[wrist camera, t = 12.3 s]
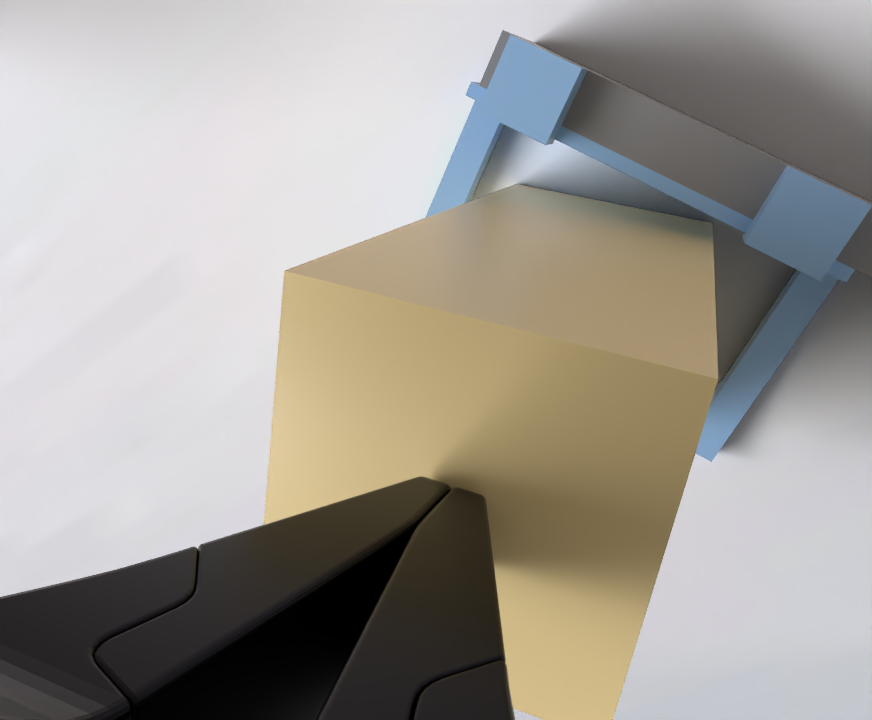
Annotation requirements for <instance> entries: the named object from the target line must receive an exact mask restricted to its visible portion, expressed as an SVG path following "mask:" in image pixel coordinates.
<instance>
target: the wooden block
mask: <svg viewBox="0 0 872 720" xmlns="http://www.w3.org/2000/svg"><path fill="white" fill-rule="evenodd" d="M717 382H718V357H717V329H716V301H715V273H714V245H713V223H710V222H705V221H700V220H695V219H690V218H685V217H680V216H675V215H670V214H665V213H659V212H654V211H649V210H644V209H639V208H634V207H629V206H624V205H619V204H614V203H609V202H604V201H599V200H594V199H589V198H584V197H579V196H574V195H569V194H564V193H559V192H554V191H549V190H544V189H539V188H534V187H529V186H524V185H519V184H515V185H512V186H509V187H507V188H504V189H501V190H499V191H496V192H493V193H491V194H488V195H485V196H483V197H480V198H477V199H475V200H472V201H469V202H467V203H464V204H461V205H459V206H456V207H453V208H451V209H448V210H445V211H443V212H440V213H437V214H435V215H432V216H429V217H427V218H424V219H421V220H419V221H416V222H413V223H411V224H408V225H405V226H403V227H400V228H397V229H395V230H392V231H389V232H387V233H384V234H381V235H379V236H376V237H373V238H371V239H368V240H365V241H363V242H360V243H357V244H355V245H352V246H349V247H347V248H344V249H341V250H339V251H336V252H333V253H331V254H328V255H325V256H323V257H320V258H317V259H315V260H312V261H309V262H307V263H304V264H301V265H299V266H296V267H293V268H291V269H288V270H285V271H284V282H283V294H282V307H281V319H280V331H279V344H278V356H277V368H276V381H275V393H274V405H273V417H272V430H271V442H270V454H269V467H268V479H267V491H266V504H265V516H264V525H265V524H268V523H271V522H275V521H278V520H281V519H284V518H288V517H291V516H294V515H297V514H300V513H304V512H307V511H310V510H313V509H316V508H320V507H323V506H326V505H329V504H332V503H336V502H339V501H342V500H345V499H348V498H352V497H355V496H358V495H361V494H364V493H368V492H371V491H374V490H377V489H380V488H384V487H387V486H390V485H393V484H396V483H400V482H403V481H406V480H409V479H412V478H416V477H420V476H422V477H427V478H430V479H433V480H436V481H439V482H443V483H446V484H447V485H449V486H450V487H451V489H453V488H455V487H458V488H462V489H465V490H468V491H471V492H474V493H478V494H481V495H483V496H484V497H485V499H486V505H487V513H488V521H489V529H490V537H491V545H492V553H493V561H494V569H495V577H496V585H497V594H498V602H499V610H500V618H501V626H502V634H503V642H504V650H505V658H506V662H505V663H506V665H507V671H508V679H509V687H510V694H511V700H512V705H513V708H514V709H517V710H520V711H522V712H525V713H528V714H530V715H533V716H535V717H538V718H541V719H543V720H613V717H614V714H615V711H616V707H617V704H618V701H619V698H620V695H621V691H622V688H623V685H624V682H625V678H626V675H627V672H628V669H629V665H630V662H631V659H632V656H633V653H634V649H635V646H636V643H637V640H638V636H639V633H640V630H641V627H642V624H643V620H644V617H645V614H646V611H647V607H648V604H649V601H650V598H651V595H652V591H653V588H654V585H655V582H656V578H657V575H658V572H659V569H660V565H661V562H662V559H663V556H664V553H665V549H666V546H667V543H668V540H669V536H670V533H671V530H672V527H673V524H674V520H675V517H676V514H677V511H678V507H679V504H680V501H681V498H682V495H683V491H684V488H685V485H686V482H687V478H688V475H689V472H690V469H691V466H692V462H693V459H694V456H695V453H696V449H697V446H698V443H699V440H700V436H701V433H702V430H703V427H704V424H705V420H706V417H707V414H708V411H709V407H710V404H711V401H712V398H713V395H714V391H715V388H716V385H717Z"/></svg>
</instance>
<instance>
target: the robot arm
mask: <svg viewBox="0 0 872 720" xmlns="http://www.w3.org/2000/svg"><path fill="white" fill-rule="evenodd" d="M505 662H506V658H505V650H504V642H503V634H502V626H501V618H500V610H499V602H498V594H497V585H496V577H495V569H494V561H493V553H492V545H491V537H490V529H489V521H488V513H487V505H486V499H485V497H484V496H483V495H481V494H478V493H474V492H471V491H468V490H465V489H462V488H458V487H455V488H453V489H451V487H450V486H449V485H447V484H446V483H443V482H439V481H436V480H433V479H430V478H427V477H422V476H420V477H416V478H412V479H409V480H406V481H403V482H400V483H396V484H393V485H390V486H387V487H384V488H380V489H377V490H374V491H371V492H368V493H364V494H361V495H358V496H355V497H352V498H348V499H345V500H342V501H339V502H336V503H332V504H329V505H326V506H323V507H320V508H316V509H313V510H310V511H307V512H304V513H300V514H297V515H294V516H291V517H288V518H284V519H281V520H278V521H275V522H271V523H268V524H265V525H262V526H259V527H255V528H252V529H249V530H246V531H243V532H239V533H236V534H233V535H230V536H226V537H223V538H220V539H217V540H214V541H210V542H207V543H204V544H201V545H200V546H199V547H198V549H197V548H196V547H191V548H188V549H184V550H181V551H178V552H175V553H172V554H168V555H165V556H162V557H158V558H155V559H151V560H148V561H144V562H141V563H138V564H134V565H131V566H127V567H124V568H120V569H117V570H113V571H109V572H105V573H101V574H97V575H92V576H88V577H84V578H80V579H76V580H72V581H68V582H64V583H59V584H55V585H51V586H46V587H42V588H38V589H33V590H29V591H25V592H20V593H16V594H12V595H7V596H3V597H0V720H515V717H514V711H513V705H512V700H511V694H510V687H509V679H508V671H507V665H506V663H505Z"/></svg>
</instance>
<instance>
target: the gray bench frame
mask: <svg viewBox="0 0 872 720" xmlns="http://www.w3.org/2000/svg"><path fill="white" fill-rule="evenodd" d="M466 96H468V97H470V98H472V99H474V100H475V102H474V105H473V107H472V109H471V112H470V114H469V116H468V119H467V121H466V123H465V126H464V128H463V130H462V133H461V135H460V138H459V140H458V142H457V145H456V147H455V149H454V152H453V154H452V156H451V159H450V161H449V163H448V166H447V168H446V171H445V173H444V175H443V178H442V180H441V182H440V185H439V187H438V189H437V192H436V194H435V197H434V199H433V201H432V204H431V206H430V208H429V211H428V213H427V215H426V218H427V217H429V216H432V215H435V214H437V213H440V212H443V211H445V210H448V209H451V208H453V207H456V206H459V205H461V204H464V203H467V202H469V201H471V198H472V196H473V194H474V192H475V189H476V187H477V185H478V183H479V181H480V178H481V176H482V174H483V172H484V169H485V167H486V165H487V163H488V160H489V158H490V156H491V154H492V151H493V149H494V147H495V145H496V142H497V140H498V138H499V136H500V133H501V131H502V129H503V127H504V125H506V126H508V127H510V128H512V129H514V130H516V131H518V132H520V133H522V134H524V135H526V136H528V137H530V138H532V139H534V140H536V141H538V142H540V143H542V144H544V145H548V144H553V142H554V140H557V141H560V142H562V143H564V144H566V145H568V146H570V147H572V148H574V149H576V150H578V151H580V152H582V153H584V154H586V155H588V156H590V157H592V158H594V159H596V160H598V161H600V162H602V163H604V164H606V165H608V166H610V167H612V168H614V169H616V170H618V171H620V172H622V173H624V174H626V175H628V176H630V177H633V178H635V179H637V180H639V181H641V182H643V183H645V184H647V185H649V186H651V187H653V188H655V189H657V190H659V191H661V192H663V193H665V194H667V195H669V196H671V197H673V198H675V199H677V200H679V201H681V202H683V203H685V204H687V205H689V206H691V207H693V208H695V209H697V210H699V211H701V212H703V213H705V214H708V215H710V216H712V217H714V218H716V219H718V220H720V221H722V222H724V223H726V224H728V225H730V226H732V227H734V228H736V229H738V230H740V231H742V232H744V233H745V234H744V235H743V237H742V238H743V242H744V244H746V245H748V246H750V247H752V248H754V249H756V250H758V251H760V252H762V253H764V254H766V255H768V256H770V257H772V258H774V259H776V260H778V261H780V262H782V263H784V264H786V265H788V266H791V267H793V268H795V269H796V271H795V272H794V274H793V275H792V277H791V278H790V280H789V281H788V283H787V284H786V286H785V287H784V289H783V290H782V292H781V293H780V295H779V296H778V298H777V299H776V301H775V302H774V304H773V305H772V306H771V308H770V309H769V311H768V312H767V314H766V315H765V317H764V318H763V320H762V321H761V323H760V324H759V326H758V327H757V329H756V330H755V332H754V333H753V335H752V336H751V338H750V339H749V341H748V342H747V344H746V345H745V347H744V348H743V350H742V351H741V353H740V354H739V356H738V357H737V359H736V360H735V362H734V363H733V365H732V366H731V368H730V369H729V371H728V372H727V374H726V375H725V377H724V378H723V380H722V381H721V383H720V384H719V386H718V387H717V389H716V390H715V392H714V395H713V398H712V401H711V404H710V407H709V411H708V414H707V417H706V420H705V424H704V427H703V430H702V433H701V436H700V440H699V443H698V446H697V449H696V454H698V455H700V456H702V457H704V458H706V459H707V460H709V461H711V462H712V460H713V459H714V457H715V456H716V455H717V453H718V452H719V450H720V449H721V447H722V446H723V445H724V443H725V442H726V440H727V439H728V437H729V436H730V435H731V433H732V432H733V430H734V429H735V427H736V426H737V425H738V423H739V422H740V420H741V419H742V417H743V416H744V415H745V413H746V412H747V410H748V409H749V407H750V406H751V404H752V403H753V402H754V400H755V399H756V397H757V396H758V394H759V393H760V392H761V390H762V389H763V387H764V386H765V384H766V383H767V382H768V380H769V379H770V377H771V376H772V374H773V373H774V372H775V370H776V369H777V367H778V366H779V364H780V363H781V362H782V360H783V359H784V357H785V356H786V354H787V353H788V352H789V350H790V349H791V347H792V346H793V344H794V343H795V342H796V340H797V339H798V337H799V336H800V334H801V333H802V332H803V330H804V329H805V327H806V326H807V324H808V323H809V321H810V320H811V319H812V317H813V316H814V314H815V313H816V311H817V310H818V309H819V307H820V306H821V304H822V303H823V301H824V300H825V299H826V297H827V296H828V294H829V293H830V291H831V290H832V289H833V287H834V286H835V284H836V283H837V281H838V280H841V281H843V282H845V283H847V281H848V280H849V278H850V277H851V276H852V274H853V273H854V271H855V270H857V271H859V272H861V273H863V274H865V275H867V276H869V277H871V278H872V202H870V201H868V200H865V199H863V198H861V197H859V196H857V195H855V194H853V193H851V192H849V191H846V190H844V189H842V188H840V187H838V186H836V185H834V184H832V183H830V182H827V181H825V180H823V179H821V178H819V177H817V176H815V175H813V174H811V173H808V172H806V171H804V170H802V169H800V168H798V167H796V166H794V165H792V164H789V163H787V162H785V161H783V160H781V159H779V158H777V157H775V156H772V155H770V154H768V153H766V152H764V151H762V150H760V149H758V148H756V147H753V146H751V145H749V144H747V143H745V142H743V141H741V140H739V139H737V138H734V137H732V136H730V135H728V134H726V133H724V132H722V131H720V130H718V129H715V128H713V127H711V126H709V125H707V124H705V123H703V122H701V121H699V120H696V119H694V118H692V117H690V116H688V115H686V114H684V113H682V112H680V111H677V110H675V109H673V108H671V107H669V106H667V105H665V104H663V103H661V102H658V101H656V100H654V99H652V98H650V97H648V96H646V95H644V94H642V93H639V92H637V91H635V90H633V89H631V88H629V87H627V86H625V85H623V84H620V83H618V82H616V81H614V80H612V79H610V78H608V77H606V76H604V75H601V74H599V73H597V72H595V71H593V70H591V69H589V68H587V67H585V66H582V65H580V64H578V63H576V62H574V61H572V60H570V59H568V58H566V57H563V56H561V55H559V54H557V53H555V52H553V51H551V50H549V49H546V48H544V47H542V46H540V45H538V44H536V43H534V42H532V41H529V40H526V39H524V38H521V37H519V36H516V35H514V34H511V33H509V32H506V31H504V30H503V31H502V33H501V35H500V38H499V40H498V42H497V45H496V47H495V50H494V52H493V54H492V57H491V59H490V61H489V64H488V66H487V68H486V71H485V73H484V76H483V78H482V80H481V83H477V82H471V83H470V86H469V88H468V91H467V93H466Z"/></svg>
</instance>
